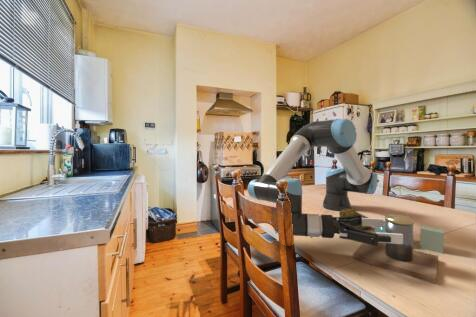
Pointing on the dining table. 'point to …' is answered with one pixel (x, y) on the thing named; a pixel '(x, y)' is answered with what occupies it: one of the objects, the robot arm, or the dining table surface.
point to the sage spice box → (431, 238)
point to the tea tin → (405, 227)
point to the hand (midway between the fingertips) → (391, 230)
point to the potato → (352, 213)
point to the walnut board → (400, 262)
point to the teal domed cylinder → (380, 228)
